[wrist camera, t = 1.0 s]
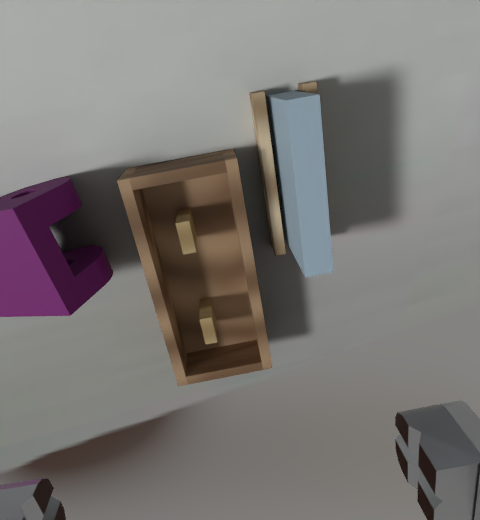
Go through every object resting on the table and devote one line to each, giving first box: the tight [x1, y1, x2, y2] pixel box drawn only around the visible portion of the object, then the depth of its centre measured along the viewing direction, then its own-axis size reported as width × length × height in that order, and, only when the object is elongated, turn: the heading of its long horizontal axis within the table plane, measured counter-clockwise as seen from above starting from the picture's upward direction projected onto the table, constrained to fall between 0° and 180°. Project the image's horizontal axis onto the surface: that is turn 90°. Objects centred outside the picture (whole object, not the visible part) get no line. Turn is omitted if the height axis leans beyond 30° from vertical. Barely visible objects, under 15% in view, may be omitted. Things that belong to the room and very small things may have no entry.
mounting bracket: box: [0, 177, 113, 317], centre depth 38 cm, size 9×8×18 cm
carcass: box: [117, 149, 272, 386], centre depth 40 cm, size 22×10×5 cm, turn 10°
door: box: [267, 91, 333, 277], centre depth 35 cm, size 14×3×9 cm, turn 10°
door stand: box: [250, 82, 317, 256], centre depth 38 cm, size 15×5×2 cm, turn 10°
